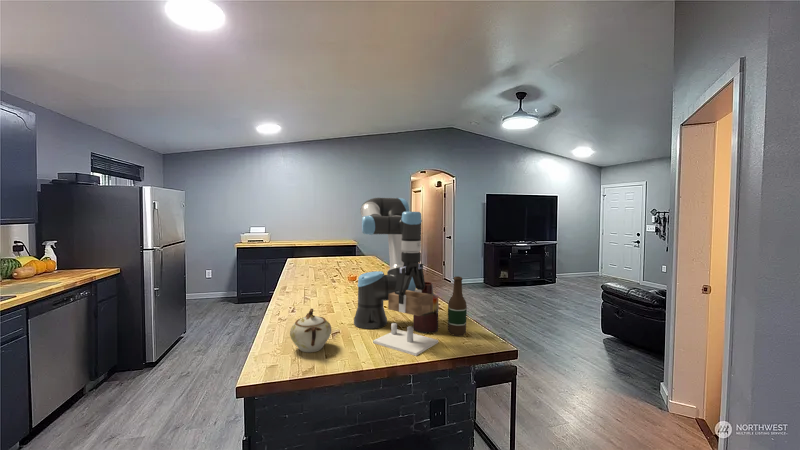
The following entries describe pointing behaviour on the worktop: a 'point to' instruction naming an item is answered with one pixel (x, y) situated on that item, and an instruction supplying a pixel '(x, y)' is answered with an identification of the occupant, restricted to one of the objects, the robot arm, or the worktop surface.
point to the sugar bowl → (310, 332)
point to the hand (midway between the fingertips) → (410, 308)
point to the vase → (427, 314)
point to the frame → (412, 302)
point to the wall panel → (405, 341)
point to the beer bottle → (457, 310)
